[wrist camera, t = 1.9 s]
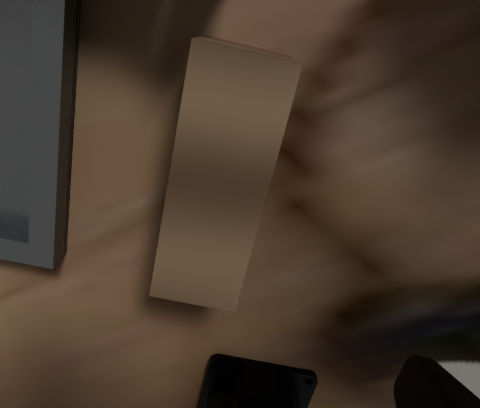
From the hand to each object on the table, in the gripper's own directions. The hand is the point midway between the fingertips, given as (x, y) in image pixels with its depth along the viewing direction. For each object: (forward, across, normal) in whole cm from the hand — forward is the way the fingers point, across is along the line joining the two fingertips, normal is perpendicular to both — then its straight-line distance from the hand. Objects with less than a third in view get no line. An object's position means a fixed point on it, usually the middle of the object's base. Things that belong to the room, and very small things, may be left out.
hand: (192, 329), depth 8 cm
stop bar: (+12, 0, 0) cm, 12 cm away
